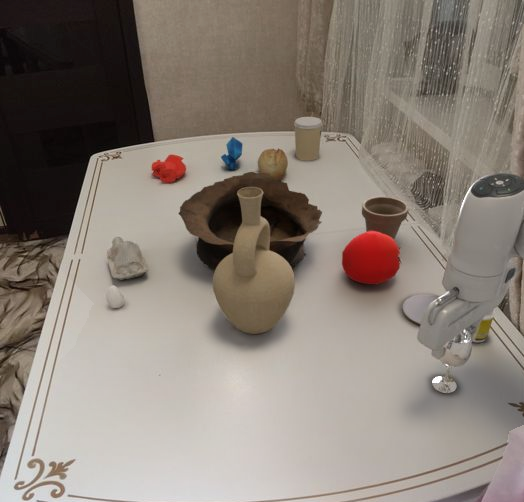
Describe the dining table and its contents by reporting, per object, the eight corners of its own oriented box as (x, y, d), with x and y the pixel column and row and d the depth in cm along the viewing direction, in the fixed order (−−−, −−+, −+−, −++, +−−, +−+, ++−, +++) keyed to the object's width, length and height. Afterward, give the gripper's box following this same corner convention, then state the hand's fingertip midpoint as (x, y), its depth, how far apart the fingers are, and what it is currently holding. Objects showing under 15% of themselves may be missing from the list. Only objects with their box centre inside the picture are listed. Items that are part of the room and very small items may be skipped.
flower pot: (387, 227, 149) (392, 192, 142) (411, 245, 141) (418, 209, 134) (350, 235, 146) (353, 200, 139) (373, 255, 138) (378, 219, 131)
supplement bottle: (488, 332, 113) (499, 299, 108) (484, 345, 110) (494, 312, 105) (465, 326, 115) (474, 293, 110) (460, 338, 112) (469, 305, 107)
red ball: (345, 297, 129) (396, 289, 132) (363, 275, 117) (418, 266, 120) (331, 250, 133) (381, 242, 135) (347, 223, 121) (401, 215, 123)
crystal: (220, 153, 174) (219, 132, 181) (222, 176, 181) (221, 155, 188) (243, 152, 174) (241, 131, 181) (244, 175, 181) (242, 154, 188)
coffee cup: (326, 158, 187) (328, 122, 179) (303, 163, 184) (304, 127, 176) (310, 149, 193) (312, 114, 186) (288, 155, 190) (288, 119, 182)
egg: (117, 299, 125) (112, 279, 122) (128, 304, 124) (124, 284, 120) (105, 307, 123) (99, 287, 120) (116, 312, 121) (111, 292, 118)
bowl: (318, 229, 152) (326, 179, 142) (311, 303, 128) (320, 250, 118) (197, 214, 154) (196, 164, 143) (168, 285, 130) (164, 231, 119)
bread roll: (285, 165, 183) (285, 141, 178) (289, 184, 172) (289, 159, 167) (257, 166, 183) (256, 142, 178) (259, 185, 171) (258, 160, 166)
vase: (283, 354, 110) (284, 217, 90) (205, 341, 113) (190, 207, 94) (301, 306, 122) (305, 177, 102) (230, 296, 125) (221, 169, 106)
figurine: (112, 255, 141) (106, 226, 135) (156, 254, 141) (152, 225, 135) (100, 287, 129) (92, 257, 124) (148, 286, 129) (142, 256, 124)
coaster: (452, 296, 123) (453, 294, 123) (463, 329, 114) (464, 327, 114) (399, 295, 124) (399, 293, 124) (405, 327, 115) (406, 325, 115)
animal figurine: (188, 164, 186) (186, 149, 182) (186, 182, 174) (185, 167, 171) (154, 166, 185) (152, 151, 182) (150, 184, 174) (148, 168, 170)
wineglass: (459, 398, 99) (474, 348, 91) (426, 391, 101) (439, 341, 93) (461, 377, 103) (476, 328, 96) (430, 371, 105) (442, 322, 97)
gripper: (451, 312, 80) (432, 380, 89) (524, 263, 90) (501, 329, 99) (416, 293, 83) (401, 361, 92) (489, 248, 93) (470, 313, 102)
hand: (453, 344), depth 96 cm, fingers open, 8 cm apart
